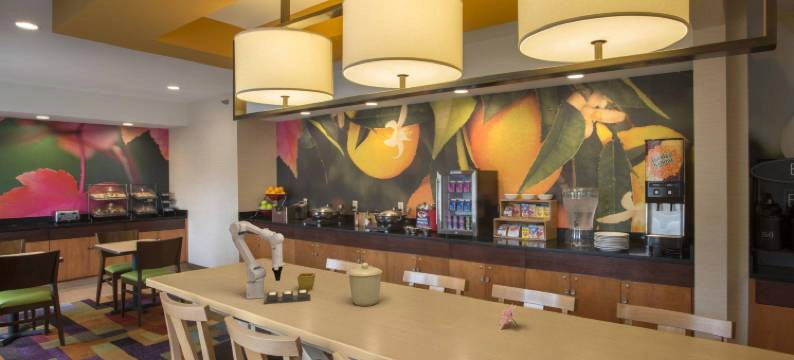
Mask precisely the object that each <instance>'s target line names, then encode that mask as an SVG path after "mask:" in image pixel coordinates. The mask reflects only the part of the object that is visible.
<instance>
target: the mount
mask: <svg viewBox="0 0 794 360" xmlns="http://www.w3.org/2000/svg"><path fill="white" fill-rule="evenodd" d="M290 291H291V293H290V294H284V292H285V291H282V293H281V295H280V296H279V292H278V291H277V292H276V291H275V292H276V295H269V292H267V293H266V296H265V297H264V298H265V299H264V300H263V301H264V302H263V305H272V304H273V305H274V304H284V303H285V304H287V303H299V302H300V303H301V302H311V301H312V299H311V294H310V293H309V291H308V290H306V292H305V293H299V291H300V290H297V295H294V291H293V290H290Z"/></svg>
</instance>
